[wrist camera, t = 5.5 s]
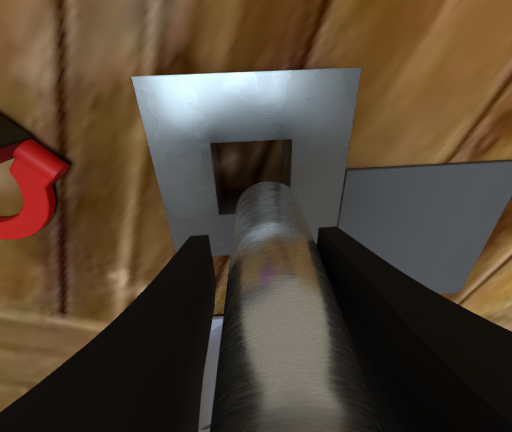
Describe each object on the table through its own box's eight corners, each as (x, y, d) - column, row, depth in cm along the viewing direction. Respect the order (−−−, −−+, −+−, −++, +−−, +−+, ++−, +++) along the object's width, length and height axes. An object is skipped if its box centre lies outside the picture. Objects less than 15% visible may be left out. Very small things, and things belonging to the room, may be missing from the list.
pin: (310, 244, 12) (444, 641, 4) (230, 248, 12) (181, 647, 4) (314, 166, 10) (623, 638, 2) (219, 173, 10) (64, 650, 2)
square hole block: (319, 222, 21) (333, 247, 18) (186, 230, 20) (177, 258, 17) (336, 68, 15) (361, 67, 12) (152, 75, 15) (131, 76, 12)
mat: (456, 289, 26) (459, 292, 26) (324, 299, 26) (326, 302, 25) (525, 159, 19) (530, 160, 19) (345, 169, 18) (347, 170, 18)
